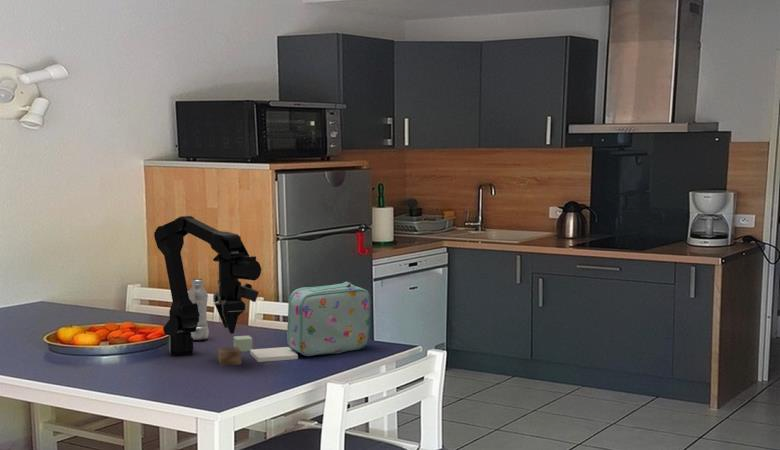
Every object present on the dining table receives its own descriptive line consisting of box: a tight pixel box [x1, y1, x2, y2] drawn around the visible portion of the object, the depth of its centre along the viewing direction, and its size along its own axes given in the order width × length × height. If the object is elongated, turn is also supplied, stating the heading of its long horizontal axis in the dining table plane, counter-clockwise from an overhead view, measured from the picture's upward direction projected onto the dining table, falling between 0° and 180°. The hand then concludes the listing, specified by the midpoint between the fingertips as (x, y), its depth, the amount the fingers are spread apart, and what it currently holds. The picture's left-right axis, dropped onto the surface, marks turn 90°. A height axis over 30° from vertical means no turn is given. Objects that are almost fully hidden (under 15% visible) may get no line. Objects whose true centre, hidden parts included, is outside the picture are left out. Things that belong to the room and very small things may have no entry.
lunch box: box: [286, 281, 372, 357], centre depth 284 cm, size 27×10×21 cm, turn 126°
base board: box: [249, 346, 299, 363], centre depth 278 cm, size 12×12×1 cm
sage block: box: [232, 335, 254, 353], centre depth 287 cm, size 5×5×4 cm
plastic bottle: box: [188, 278, 210, 341], centre depth 300 cm, size 6×7×20 cm
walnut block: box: [217, 346, 242, 367], centre depth 269 cm, size 6×6×4 cm
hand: (229, 330), depth 269 cm, fingers open, 9 cm apart
